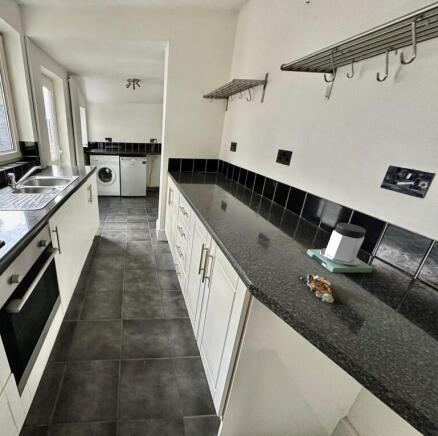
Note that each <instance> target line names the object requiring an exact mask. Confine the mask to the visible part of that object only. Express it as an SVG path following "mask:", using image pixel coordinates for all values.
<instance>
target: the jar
mask: <svg viewBox="0 0 438 436" xmlns="http://www.w3.org/2000/svg"><path fill="white" fill-rule="evenodd" d="M334 228H335V229H334V230H332V233H331V235H330V239H329V241H328V244H327V245H326V248H327V249H326V251H325V252H326V253H327V254H328V255H330V256H331V257H332V258H334V259H338V260H342V261H346V262H350V261H352V260H354V259H355V258H356V257H357V256H358V253H359V251H360V248H361V246H362V244H363V242H364V240H365V236H366V232H367V231H366V229H365V228H364V227H362V226H359V225H356V224H354V223H348V222H338V223H337V224H336V226H335V227H334Z"/></svg>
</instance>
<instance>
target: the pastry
mask: <svg viewBox="0 0 438 436" xmlns="http://www.w3.org/2000/svg"><path fill="white" fill-rule="evenodd" d="M300 279H301V280H303V279H304V277H303V276H302V277H300ZM304 282H306V284H307V286H308V287H309V288H310V292H312V293H314V294H315V297H316V298H317V299H321V301H322V302H325V303H328V304H329V303H330V304H331V303H332V304H333V303H334V301H335V300H334V298H333V296H332V295H333V291H332V289H331V288H330V286H331V285H332V283H331V282H330V281H328V280H327V278H326V277H323V276H319V275H316V274H311V273H309V272H308V273H307V276H306V278H305V279H304Z"/></svg>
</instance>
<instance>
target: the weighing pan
mask: <svg viewBox="0 0 438 436" xmlns="http://www.w3.org/2000/svg"><path fill="white" fill-rule="evenodd" d="M326 249H327V247H324V248H321V249H319V250H320V254H321V256H322V257H324V258H325V259H327V260H329V261H331V262H333V263H336V264H339V265H343V266H349V267H355V266H358V265H359V264H360V260H361V259H359V257H357V256H356V258H355V259H354V260H352V261H350V262H346V261H342V260H338V259H334V258H332V257H331V256H330V255H328V254H327V253H326V252H325V251H326Z"/></svg>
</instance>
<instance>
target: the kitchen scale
mask: <svg viewBox="0 0 438 436" xmlns="http://www.w3.org/2000/svg"><path fill="white" fill-rule="evenodd" d="M320 250H321V249H309V248H308V249H307V251H306V254H307V255H308V256H309V257H311V258H312V259H313V260H315V261H316V262H317V263H319V264H320V265H321V266H322V267H324V268H325V269H327V270H328V271H329V272H331V273H372V272H373V269H374V267H372V266H371V265H370V264H367V263H366V262H364V261H363V260H361V259H359V260H360V264H359V265H358V266H355V267H349V266H343V265H339V264H336V263H333V262H331V261H329V260H327V259H325V258H324V257H322V256H321V254H320Z"/></svg>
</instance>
